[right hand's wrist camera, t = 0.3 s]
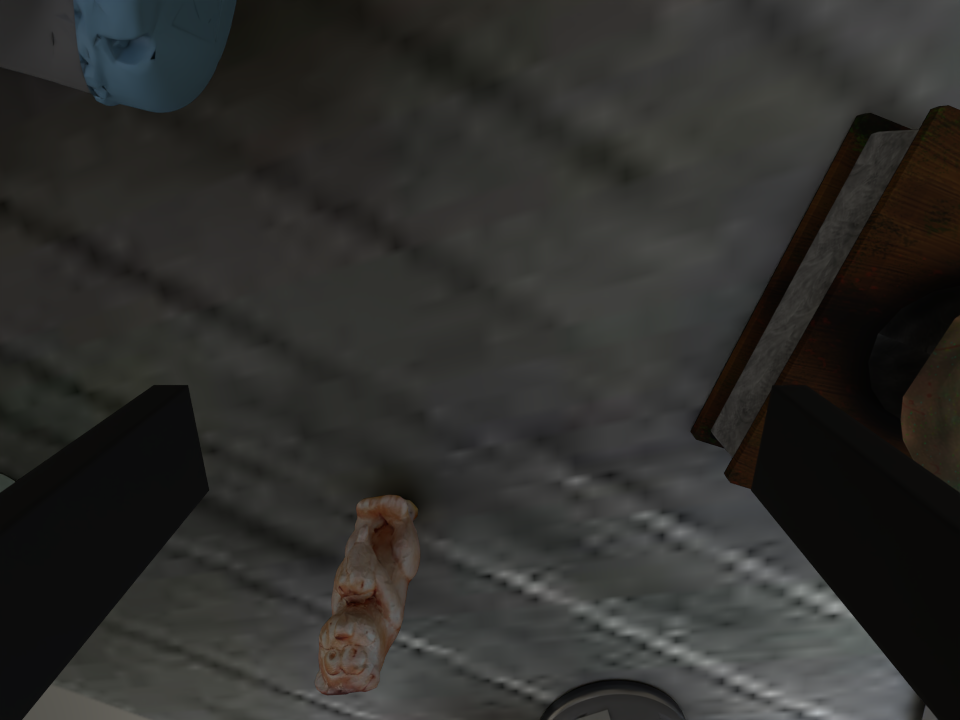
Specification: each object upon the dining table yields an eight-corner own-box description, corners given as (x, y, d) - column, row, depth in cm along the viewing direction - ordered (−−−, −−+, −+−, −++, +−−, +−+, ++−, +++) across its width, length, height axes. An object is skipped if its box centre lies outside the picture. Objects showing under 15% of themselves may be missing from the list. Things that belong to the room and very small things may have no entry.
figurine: (413, 468, 45) (383, 610, 31) (435, 542, 47) (416, 705, 33) (341, 481, 45) (279, 627, 31) (366, 554, 48) (319, 719, 34)
